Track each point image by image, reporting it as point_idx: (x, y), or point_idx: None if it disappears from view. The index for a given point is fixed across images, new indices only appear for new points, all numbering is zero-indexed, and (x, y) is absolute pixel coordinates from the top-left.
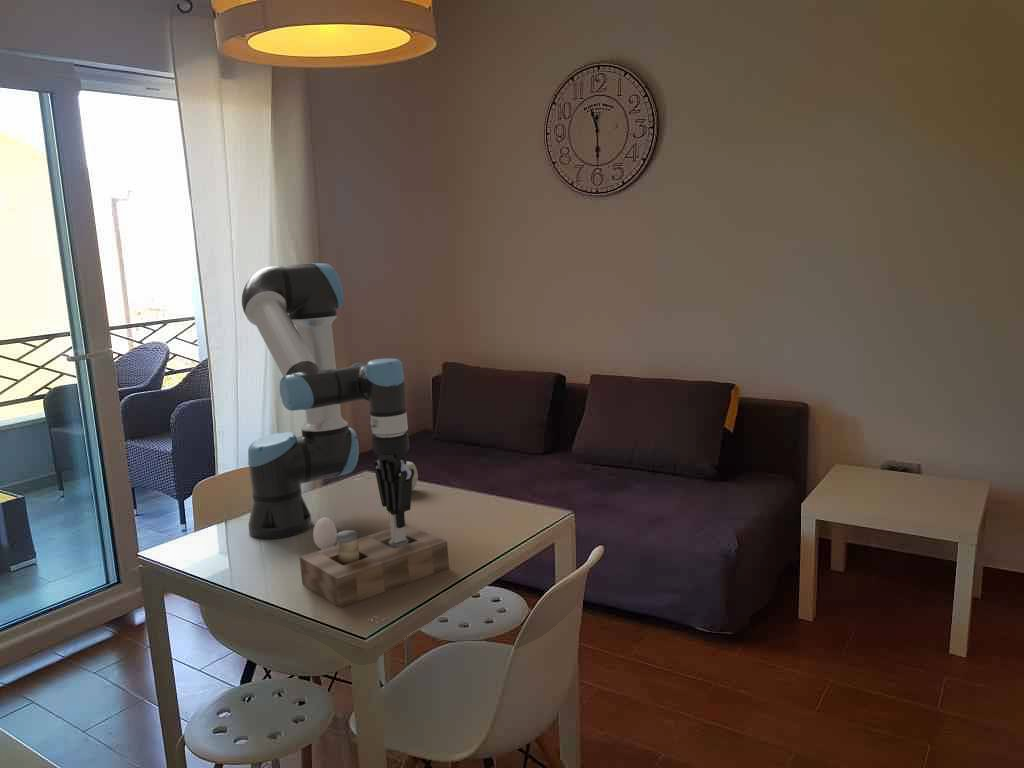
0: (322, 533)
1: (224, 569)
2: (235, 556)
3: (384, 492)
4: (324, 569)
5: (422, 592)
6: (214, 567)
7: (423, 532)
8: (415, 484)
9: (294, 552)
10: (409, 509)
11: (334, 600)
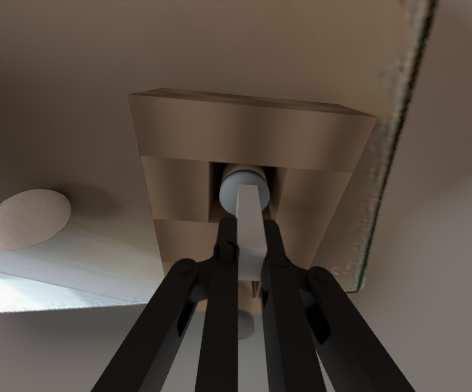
0: (49, 236)
1: (72, 292)
2: (27, 274)
3: (173, 353)
4: None
5: (352, 205)
6: (59, 294)
7: (251, 112)
8: None
9: None
10: (327, 273)
11: None
